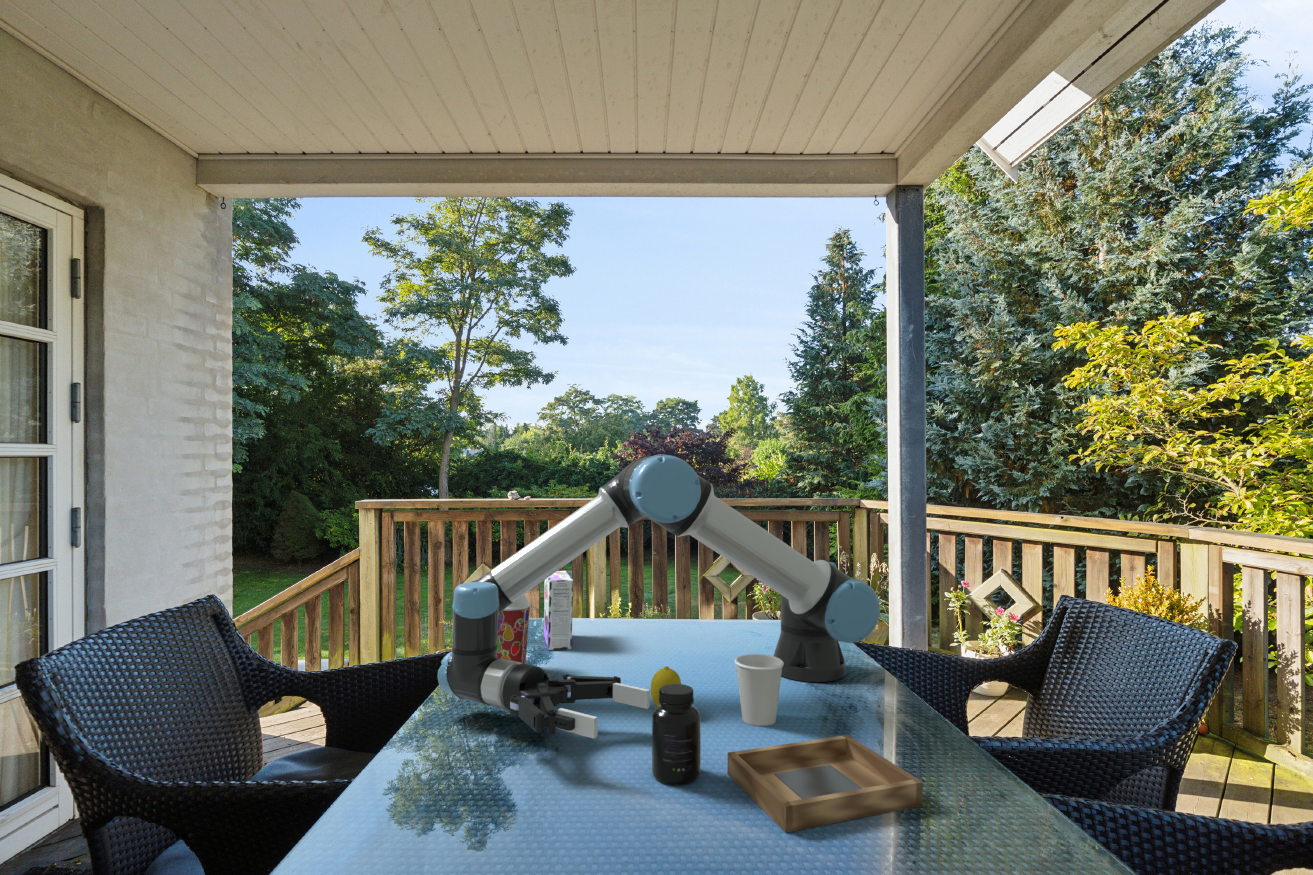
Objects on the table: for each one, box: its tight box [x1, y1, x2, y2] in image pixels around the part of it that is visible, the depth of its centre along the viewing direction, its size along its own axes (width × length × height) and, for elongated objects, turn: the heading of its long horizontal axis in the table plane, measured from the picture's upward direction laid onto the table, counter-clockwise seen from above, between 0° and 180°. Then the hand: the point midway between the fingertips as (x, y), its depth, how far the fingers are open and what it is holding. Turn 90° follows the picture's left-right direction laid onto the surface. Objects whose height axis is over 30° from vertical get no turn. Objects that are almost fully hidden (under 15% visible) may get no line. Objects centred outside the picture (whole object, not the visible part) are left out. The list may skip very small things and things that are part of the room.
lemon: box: [649, 665, 682, 708], centre depth 119 cm, size 6×6×8 cm
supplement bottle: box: [651, 683, 702, 786], centre depth 95 cm, size 7×7×12 cm
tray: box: [727, 734, 924, 834], centre depth 91 cm, size 20×16×3 cm
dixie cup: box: [734, 653, 784, 727], centre depth 116 cm, size 8×8×10 cm
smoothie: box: [497, 593, 531, 664], centre depth 143 cm, size 8×8×20 cm
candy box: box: [543, 570, 574, 651], centre depth 165 cm, size 14×6×16 cm, turn 14°
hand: (623, 712), depth 100 cm, fingers open, 13 cm apart
